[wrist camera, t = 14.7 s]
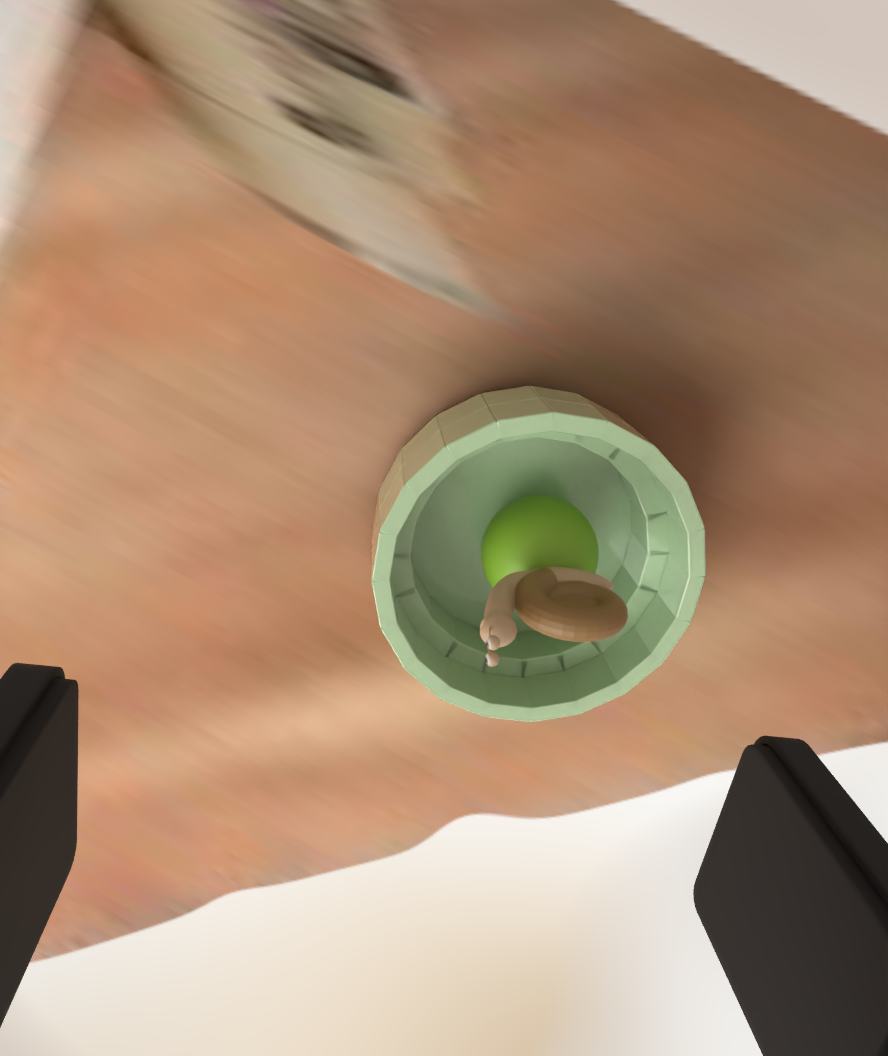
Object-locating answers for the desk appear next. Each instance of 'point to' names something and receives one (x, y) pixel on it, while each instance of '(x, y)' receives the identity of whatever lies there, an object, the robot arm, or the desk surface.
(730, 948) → the robot arm
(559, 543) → the snail figurine
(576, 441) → the green round bowl
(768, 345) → the desk surface
